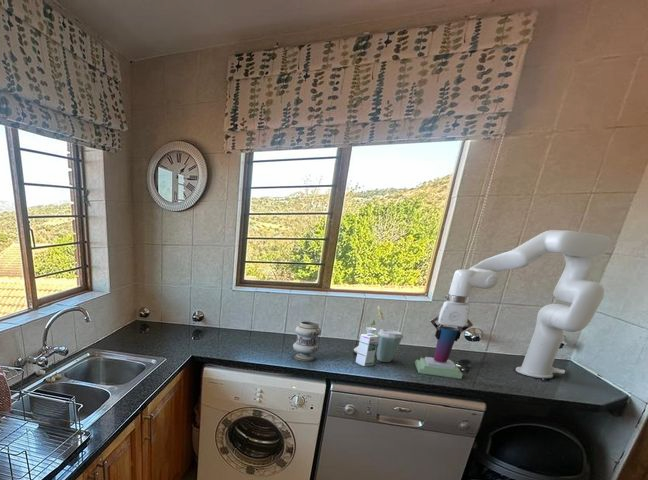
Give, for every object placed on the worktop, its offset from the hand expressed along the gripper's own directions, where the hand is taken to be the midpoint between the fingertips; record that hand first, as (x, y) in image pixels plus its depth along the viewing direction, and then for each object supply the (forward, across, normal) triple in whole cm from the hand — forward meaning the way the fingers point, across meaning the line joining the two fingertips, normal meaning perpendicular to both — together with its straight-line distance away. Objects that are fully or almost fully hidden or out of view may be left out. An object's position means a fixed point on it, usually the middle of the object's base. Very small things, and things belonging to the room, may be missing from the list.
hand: (446, 339), depth 179 cm
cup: (+10, 0, 0) cm, 10 cm away
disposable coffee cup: (+15, -21, +6) cm, 27 cm away
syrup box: (+15, -30, -5) cm, 34 cm away
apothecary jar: (+15, -57, -9) cm, 60 cm away
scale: (+15, 0, 0) cm, 15 cm away
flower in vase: (+15, -29, +12) cm, 35 cm away
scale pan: (+12, 0, 0) cm, 12 cm away
